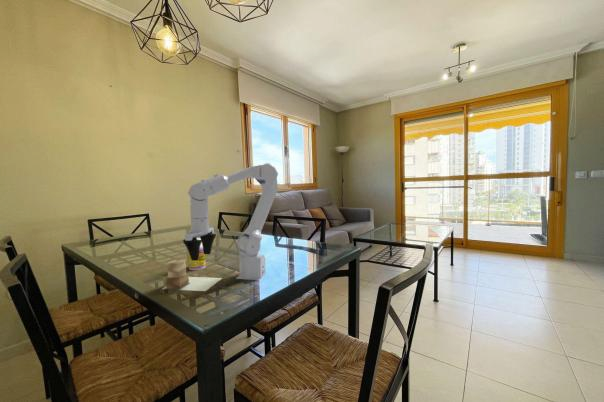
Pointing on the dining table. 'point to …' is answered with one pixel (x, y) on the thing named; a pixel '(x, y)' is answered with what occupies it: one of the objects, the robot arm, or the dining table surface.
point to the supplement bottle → (200, 262)
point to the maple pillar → (176, 268)
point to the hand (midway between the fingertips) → (201, 257)
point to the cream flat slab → (199, 283)
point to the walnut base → (177, 282)
